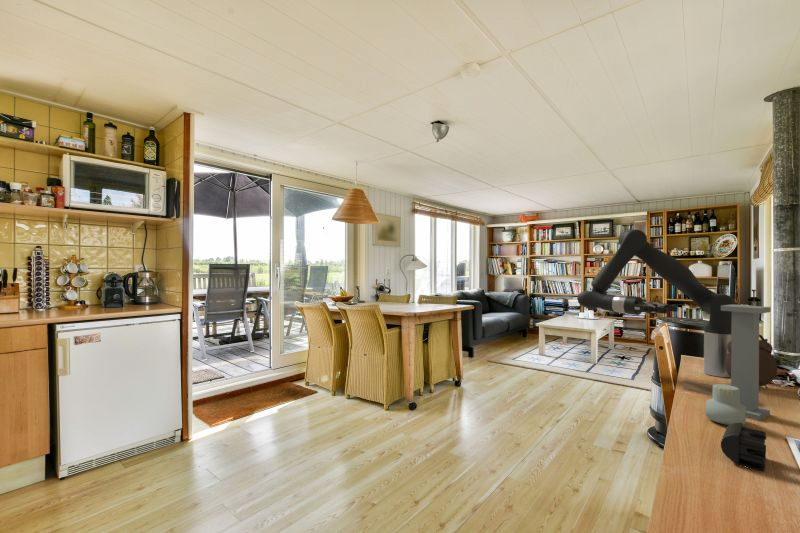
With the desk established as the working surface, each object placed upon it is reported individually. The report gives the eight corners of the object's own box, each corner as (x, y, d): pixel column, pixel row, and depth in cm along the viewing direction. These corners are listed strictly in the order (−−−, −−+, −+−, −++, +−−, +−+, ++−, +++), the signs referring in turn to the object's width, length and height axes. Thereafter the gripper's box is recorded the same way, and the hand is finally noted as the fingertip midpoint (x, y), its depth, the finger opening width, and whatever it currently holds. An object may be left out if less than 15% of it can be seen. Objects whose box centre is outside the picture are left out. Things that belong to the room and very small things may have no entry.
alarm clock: (762, 385, 145) (762, 331, 145) (779, 391, 137) (779, 335, 137) (720, 383, 146) (720, 330, 146) (735, 389, 139) (735, 333, 139)
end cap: (725, 447, 93) (725, 419, 93) (765, 457, 88) (766, 428, 88) (720, 461, 86) (720, 431, 86) (764, 473, 81) (764, 441, 81)
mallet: (689, 387, 141) (689, 375, 141) (747, 401, 126) (747, 387, 127) (681, 389, 137) (681, 377, 138) (740, 404, 123) (740, 390, 123)
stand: (731, 405, 122) (732, 304, 122) (769, 414, 114) (770, 307, 114) (719, 410, 117) (720, 305, 117) (758, 420, 109) (759, 308, 110)
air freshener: (744, 432, 101) (744, 394, 101) (704, 423, 107) (704, 387, 107) (746, 421, 109) (746, 385, 109) (709, 413, 115) (709, 379, 115)
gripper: (618, 296, 154) (664, 301, 141) (636, 294, 162) (680, 298, 149) (618, 315, 155) (663, 321, 141) (635, 312, 163) (680, 317, 149)
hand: (672, 309), depth 145 cm, fingers open, 8 cm apart
